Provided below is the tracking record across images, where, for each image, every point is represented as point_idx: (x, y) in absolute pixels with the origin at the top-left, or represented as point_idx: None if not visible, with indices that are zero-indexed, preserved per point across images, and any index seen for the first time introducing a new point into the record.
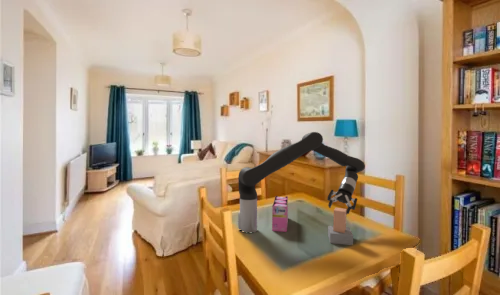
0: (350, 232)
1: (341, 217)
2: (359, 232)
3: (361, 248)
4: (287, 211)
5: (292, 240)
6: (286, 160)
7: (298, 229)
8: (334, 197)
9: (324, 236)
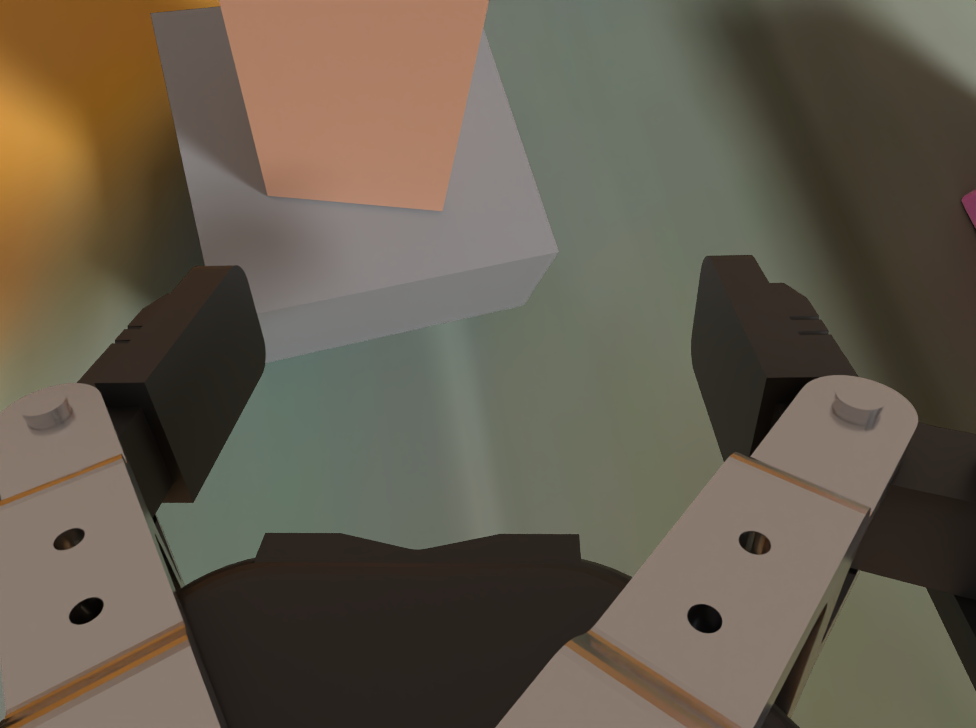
0: (191, 98)
1: None
2: None
3: (82, 52)
4: None
5: (804, 13)
6: None
7: (892, 327)
8: (818, 492)
9: None
